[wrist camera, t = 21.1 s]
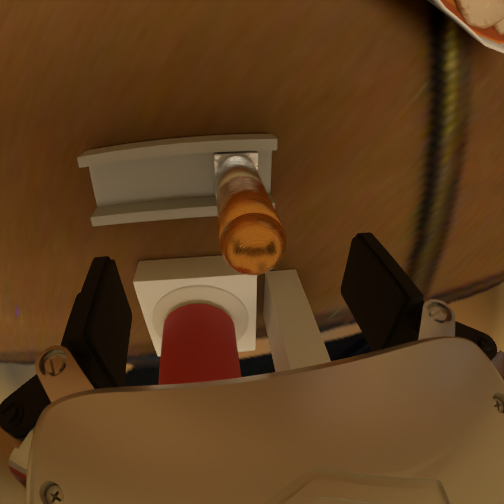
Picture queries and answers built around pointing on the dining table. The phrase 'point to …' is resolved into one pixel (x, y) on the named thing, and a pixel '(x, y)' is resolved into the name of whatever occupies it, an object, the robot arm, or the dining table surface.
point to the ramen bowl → (477, 19)
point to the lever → (246, 215)
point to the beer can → (198, 346)
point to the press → (208, 267)
